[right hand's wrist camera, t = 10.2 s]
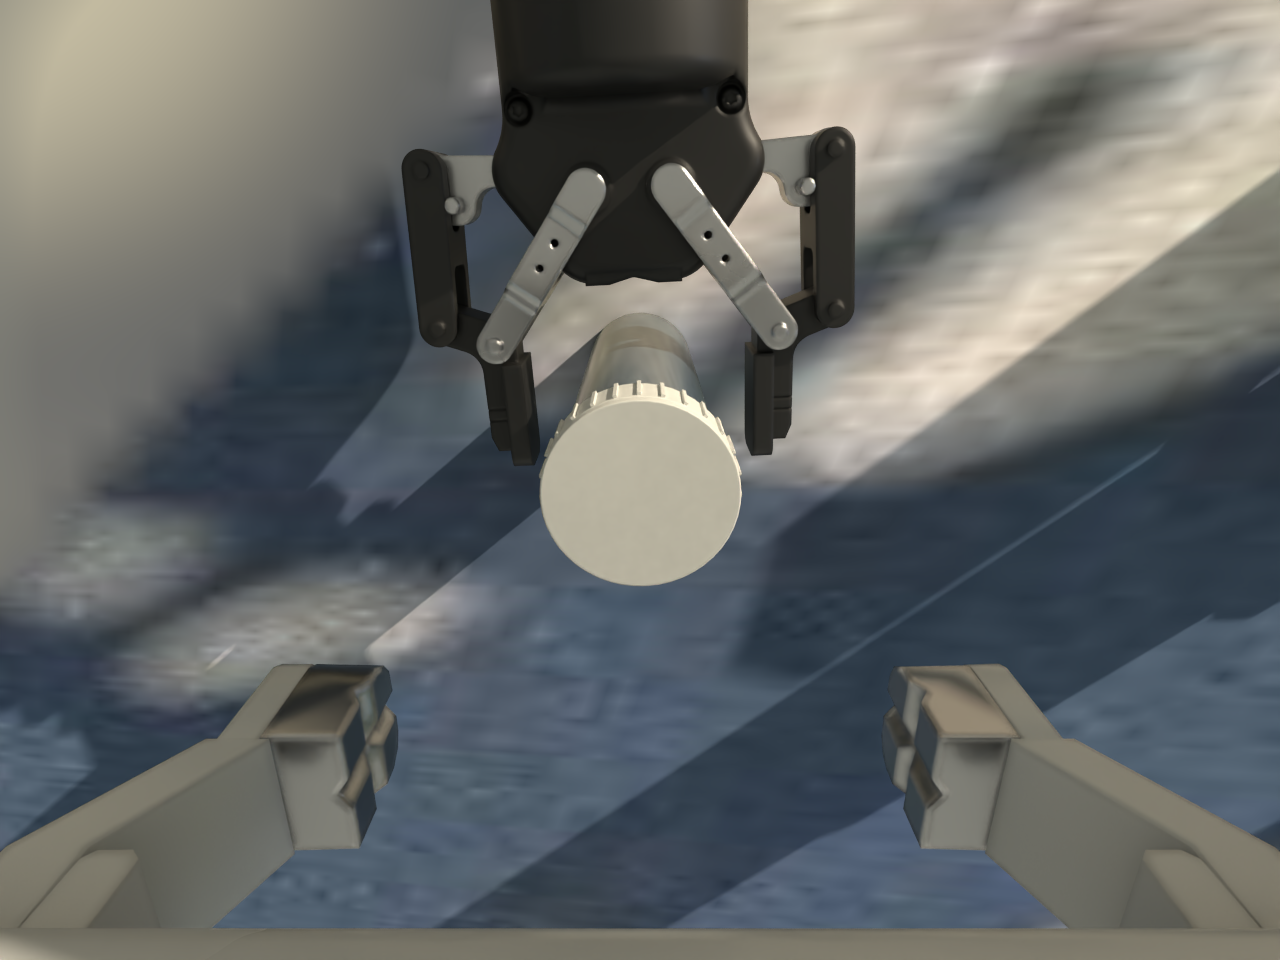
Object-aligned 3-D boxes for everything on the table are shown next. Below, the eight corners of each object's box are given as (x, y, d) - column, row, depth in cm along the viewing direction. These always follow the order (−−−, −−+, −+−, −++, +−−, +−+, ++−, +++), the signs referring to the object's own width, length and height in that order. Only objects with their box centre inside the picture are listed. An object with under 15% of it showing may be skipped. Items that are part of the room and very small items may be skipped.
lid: (720, 362, 18) (728, 378, 17) (748, 541, 20) (757, 571, 18) (524, 399, 19) (513, 418, 17) (569, 571, 20) (562, 604, 19)
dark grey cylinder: (681, 303, 31) (714, 389, 17) (698, 402, 33) (740, 553, 19) (580, 323, 32) (532, 423, 18) (601, 420, 33) (573, 582, 19)
